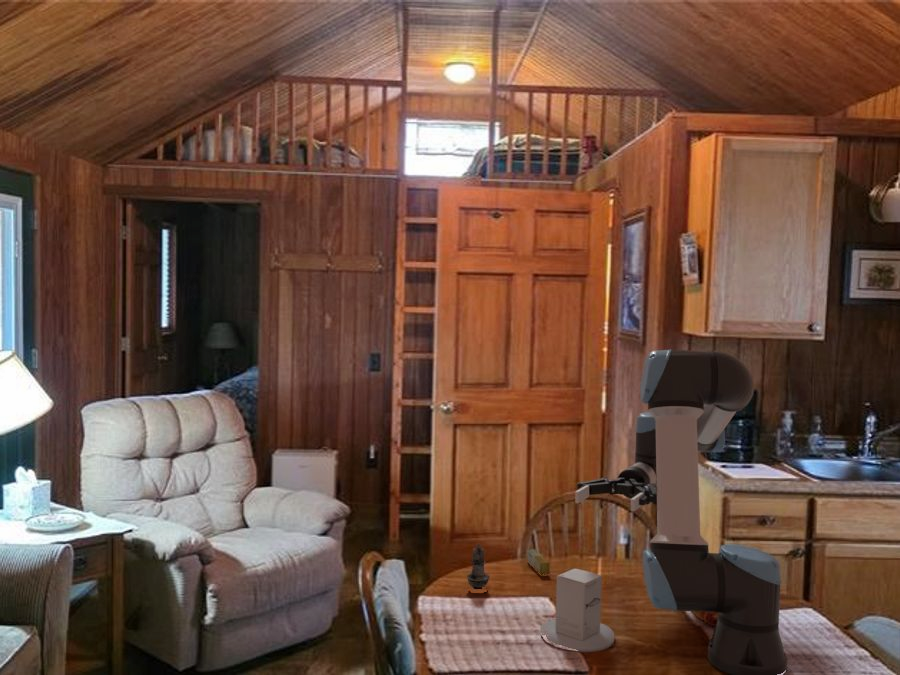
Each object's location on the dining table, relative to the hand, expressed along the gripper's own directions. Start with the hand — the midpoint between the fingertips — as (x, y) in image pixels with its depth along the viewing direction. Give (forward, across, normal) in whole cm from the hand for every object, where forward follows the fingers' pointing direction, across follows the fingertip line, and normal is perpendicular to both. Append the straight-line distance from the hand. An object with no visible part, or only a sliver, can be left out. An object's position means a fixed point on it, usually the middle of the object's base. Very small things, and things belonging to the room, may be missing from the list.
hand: (603, 501), depth 183 cm
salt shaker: (+2, +33, -27) cm, 43 cm away
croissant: (-17, -20, -29) cm, 39 cm away
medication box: (-21, +28, -28) cm, 45 cm away
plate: (+14, +1, -27) cm, 30 cm away
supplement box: (+14, +1, -26) cm, 29 cm away
